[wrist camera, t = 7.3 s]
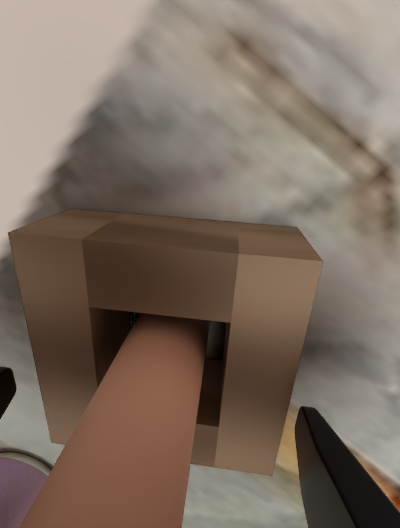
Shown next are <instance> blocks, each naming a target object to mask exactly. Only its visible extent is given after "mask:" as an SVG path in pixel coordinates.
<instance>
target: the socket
mask: <svg viewBox="0 0 400 528" xmlns="http://www.w3.org/2000/svg"><path fill="white" fill-rule="evenodd" d="M8 235H9V240H10V245H11V250H12V255H13V259H14V264H15V269H16V274H17V279H18V284H19V288H20V293H21V298H22V303H23V308H24V313H25V317H26V322H27V327H28V332H29V337H30V342H31V346H32V351H33V356H34V361H35V366H36V371H37V375H38V380H39V385H40V390H41V395H42V400H43V404H44V409H45V414H46V419H47V424H48V429H49V434H50V438H51V443H57V444H64V445H66V444H67V442H68V440H69V438H70V436H71V435H72V433H73V431H74V429H75V428H76V426H77V424H78V422H79V421H80V419H81V417H82V415H83V413H84V412H85V410H86V408H87V406H88V405H89V403H90V401H91V399H92V398H93V396H94V394H95V392H96V390H97V389H98V387H99V385H100V383H101V382H102V380H103V378H104V376H105V374H106V373H107V371H108V369H109V367H110V366H111V364H112V362H113V360H114V359H115V357H116V355H117V353H118V351H119V350H120V348H121V346H122V344H123V343H124V341H125V339H126V337H127V335H128V334H129V332H130V327H129V312H138V313H147V314H156V315H165V316H174V317H183V318H192V319H201V320H210V321H219V322H227V325H226V334H225V344H224V353H223V361H218V360H210V359H205V362H204V369H203V376H202V383H201V390H200V398H199V405H198V412H197V419H196V426H195V433H194V441H193V448H192V455H191V462H190V464H196V465H203V466H209V467H216V468H223V469H229V470H236V471H242V472H249V473H256V474H262V475H269V476H272V474H273V470H274V466H275V461H276V457H277V453H278V449H279V445H280V440H281V436H282V432H283V428H284V424H285V419H286V415H287V411H288V407H289V403H290V398H291V394H292V390H293V386H294V382H295V377H296V373H297V369H298V365H299V361H300V356H301V352H302V348H303V344H304V340H305V335H306V331H307V327H308V323H309V319H310V314H311V310H312V306H313V302H314V298H315V293H316V289H317V285H318V281H319V277H320V272H321V268H322V264H323V260H322V259H321V258H320V257H319V255H318V254H317V253H316V251H315V250H314V249H313V247H312V246H311V245H310V243H309V242H308V241H307V240H306V238H305V237H304V236H303V234H302V233H301V232H300V230H299V229H298V228H297V227H287V226H275V225H263V224H250V223H238V222H226V221H214V220H202V219H190V218H178V217H165V216H153V215H141V214H129V213H117V212H105V211H93V210H80V209H68V210H66V211H63V212H60V213H58V214H55V215H53V216H50V217H47V218H45V219H42V220H40V221H37V222H34V223H32V224H29V225H27V226H24V227H21V228H19V229H16V230H13V231H11V232H8Z"/></svg>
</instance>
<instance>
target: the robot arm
mask: <svg viewBox="0 0 400 528" xmlns="http://www.w3.org/2000/svg"><path fill="white" fill-rule="evenodd" d="M15 393H16V383H15V379H14V375H13V371H12V369H11V368H7V367H0V419H1V417H2V415H3V414H4V412H5V410H6V409H7V407H8V405H9V404H10V402H11V400H12V399H13V397H14V395H15ZM295 441H296V450H297V459H298V468H299V477H300V486H301V494H302V499H303V504H304V509H305V514H306V519H307V524H308V528H400V512H399V511H398V509H397V508H396V507H395V506H394V505H393V503H392V502H391V501H390V500H389V498H388V497H387V496H386V495H385V493H384V492H383V491H382V490H381V488H380V487H379V486H378V485H377V484H376V482H375V481H374V480H373V479H372V477H371V476H370V475H369V474H368V472H367V471H366V470H365V469H364V467H363V466H362V465H361V464H360V463H359V461H358V460H357V459H356V458H355V456H354V455H353V454H352V453H351V451H350V450H349V449H348V448H347V446H346V445H345V444H344V443H343V442H342V440H341V439H340V438H339V437H338V435H337V434H336V433H335V432H334V430H333V429H332V428H331V427H330V425H329V424H328V423H327V422H326V421H325V419H324V418H323V417H322V416H321V414H320V413H319V412H318V411H317V410H316V409H315V408H313V407H305V406H302V407H300V409H299V412H298V416H297V420H296V424H295Z"/></svg>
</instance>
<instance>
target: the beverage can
mask: <svg viewBox="0 0 400 528" xmlns="http://www.w3.org/2000/svg"><path fill="white" fill-rule="evenodd" d="M50 472H51V469H50V468H49V467H47V466H46V465H45V464H43V463H42V462H40V461H38V460H37V459H35V458H32V457H30V456H27V455H24V454H20V453H13V452H4V453H0V528H19V527H20V525H21V523H22V522H23V520H24V518H25V516H26V514H27V513H28V511H29V509H30V507H31V506H32V504H33V502H34V500H35V499H36V497H37V495H38V493H39V491H40V490H41V488H42V486H43V484H44V483H45V481H46V479H47V477H48V475H49V474H50Z"/></svg>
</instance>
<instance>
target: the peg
mask: <svg viewBox="0 0 400 528" xmlns="http://www.w3.org/2000/svg"><path fill="white" fill-rule="evenodd" d="M209 326H210V320H201V319H192V318H183V317H174V316H165V315H156V314H147V313H140V314H139V316H138V318H137V320H136V321H135V323H134V325H133V327H132V328H131V330H130V332H129V334H128V335H127V337H126V339H125V341H124V343H123V344H122V346H121V348H120V350H119V351H118V353H117V355H116V357H115V359H114V360H113V362H112V364H111V366H110V367H109V369H108V371H107V373H106V374H105V376H104V378H103V380H102V382H101V383H100V385H99V387H98V389H97V390H96V392H95V394H94V396H93V398H92V399H91V401H90V403H89V405H88V406H87V408H86V410H85V412H84V413H83V415H82V417H81V419H80V421H79V422H78V424H77V426H76V428H75V429H74V431H73V433H72V435H71V436H70V438H69V440H68V442H67V444H66V445H65V447H64V449H63V451H62V452H61V454H60V456H59V458H58V460H57V461H56V463H55V465H54V467H53V468H52V470H51V472H50V474H49V475H48V477H47V479H46V481H45V483H44V484H43V486H42V488H41V490H40V491H39V493H38V495H37V497H36V499H35V500H34V502H33V504H32V506H31V507H30V509H29V511H28V513H27V514H26V516H25V518H24V520H23V522H22V523H21V525H20V527H19V528H181V527H182V520H183V513H184V505H185V498H186V491H187V484H188V477H189V469H190V462H191V455H192V448H193V441H194V433H195V426H196V419H197V412H198V405H199V398H200V390H201V383H202V376H203V369H204V362H205V354H206V347H207V340H208V333H209Z"/></svg>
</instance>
